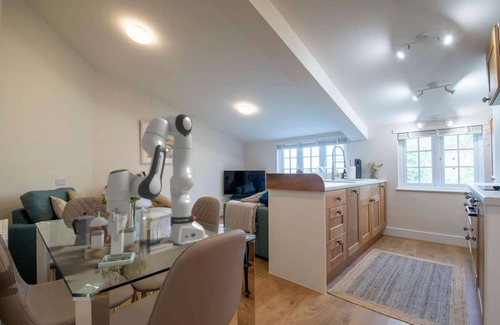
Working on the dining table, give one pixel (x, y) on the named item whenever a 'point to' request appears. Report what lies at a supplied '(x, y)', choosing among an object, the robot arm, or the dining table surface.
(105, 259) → the tray
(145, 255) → the dining table surface
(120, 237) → the block
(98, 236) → the block
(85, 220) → the coffeepot
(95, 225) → the smoothie
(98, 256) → the socket strip
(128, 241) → the block
